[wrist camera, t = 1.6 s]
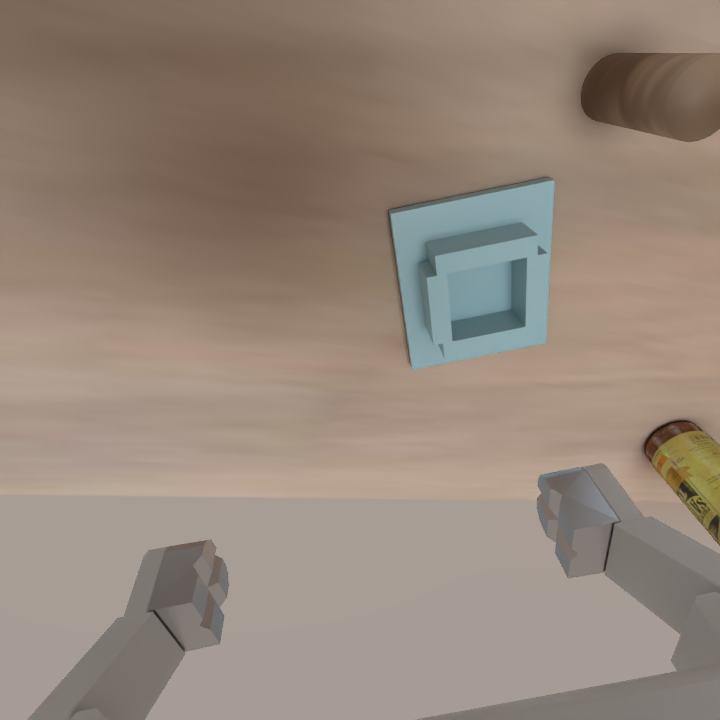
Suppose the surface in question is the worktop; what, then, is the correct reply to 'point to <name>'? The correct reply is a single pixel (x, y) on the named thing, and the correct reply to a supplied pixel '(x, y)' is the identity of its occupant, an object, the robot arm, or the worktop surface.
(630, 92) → the brown cylinder
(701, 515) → the sauce bottle
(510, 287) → the holder
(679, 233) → the worktop surface
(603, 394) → the worktop surface
